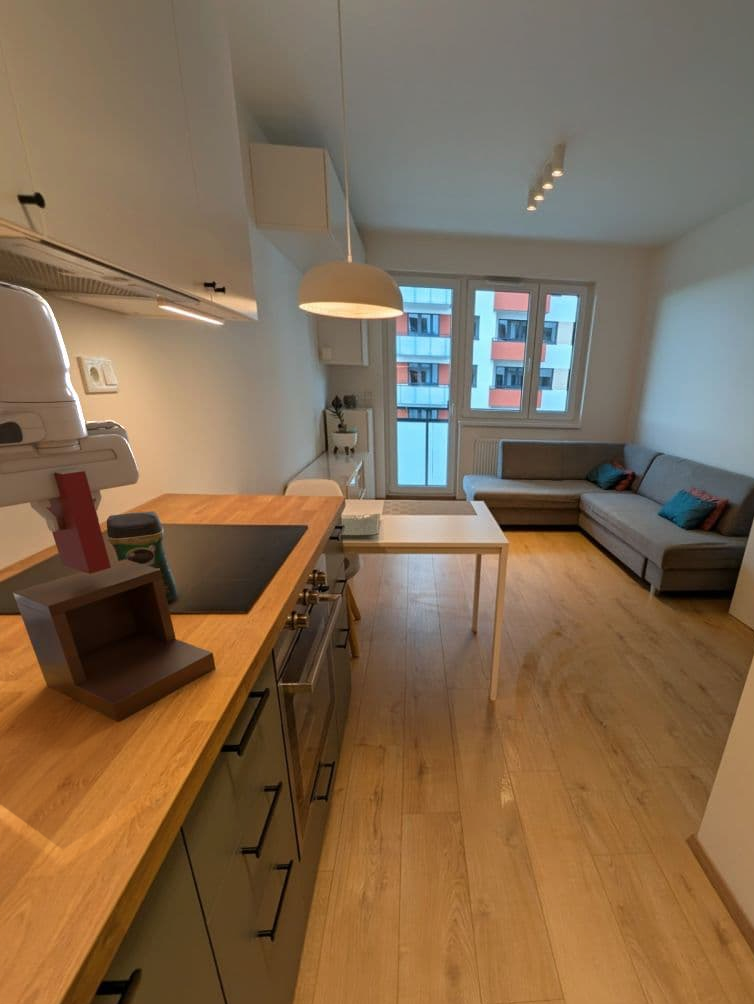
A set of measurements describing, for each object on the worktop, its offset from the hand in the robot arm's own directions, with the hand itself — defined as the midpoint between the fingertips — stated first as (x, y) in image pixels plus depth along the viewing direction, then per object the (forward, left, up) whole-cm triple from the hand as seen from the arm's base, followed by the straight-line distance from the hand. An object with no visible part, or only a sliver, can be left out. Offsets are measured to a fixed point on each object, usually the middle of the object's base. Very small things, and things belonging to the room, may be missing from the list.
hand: (74, 526), depth 72 cm
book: (0, 0, -6) cm, 6 cm away
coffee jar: (-20, +20, -24) cm, 37 cm away
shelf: (+4, 0, -24) cm, 24 cm away
